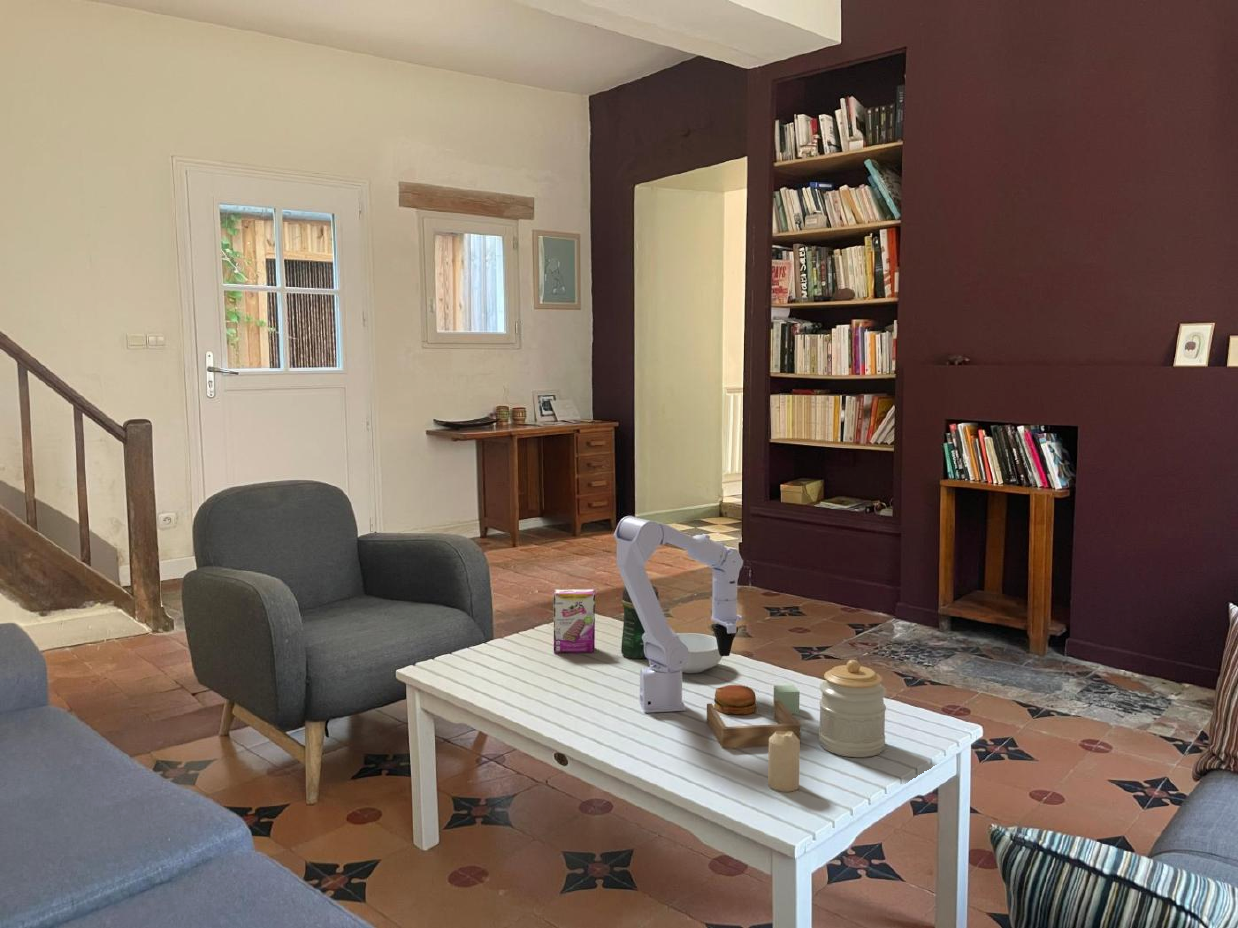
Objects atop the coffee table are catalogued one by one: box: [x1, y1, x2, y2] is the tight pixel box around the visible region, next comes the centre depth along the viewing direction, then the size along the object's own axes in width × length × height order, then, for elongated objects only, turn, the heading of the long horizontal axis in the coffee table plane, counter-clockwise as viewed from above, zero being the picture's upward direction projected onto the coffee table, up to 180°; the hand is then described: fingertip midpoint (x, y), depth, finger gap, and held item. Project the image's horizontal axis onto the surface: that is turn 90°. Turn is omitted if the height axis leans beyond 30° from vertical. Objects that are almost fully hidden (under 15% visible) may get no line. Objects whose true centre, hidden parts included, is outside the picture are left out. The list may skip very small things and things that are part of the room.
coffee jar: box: [620, 585, 660, 659], centre depth 250 cm, size 10×8×19 cm
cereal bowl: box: [676, 632, 723, 674], centre depth 239 cm, size 17×17×7 cm
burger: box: [713, 684, 757, 716], centre depth 211 cm, size 10×9×5 cm
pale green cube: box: [773, 684, 801, 715], centre depth 209 cm, size 4×4×5 cm
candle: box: [767, 731, 801, 793], centre depth 171 cm, size 6×6×10 cm
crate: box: [706, 700, 802, 749], centre depth 196 cm, size 16×14×4 cm
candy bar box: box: [553, 588, 596, 654], centre depth 254 cm, size 11×5×16 cm, turn 94°
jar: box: [818, 659, 887, 758], centre depth 189 cm, size 13×13×18 cm
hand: (724, 655), depth 220 cm, fingers closed
